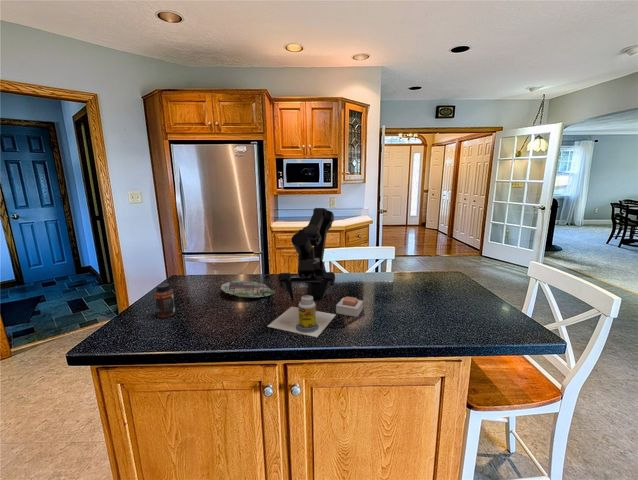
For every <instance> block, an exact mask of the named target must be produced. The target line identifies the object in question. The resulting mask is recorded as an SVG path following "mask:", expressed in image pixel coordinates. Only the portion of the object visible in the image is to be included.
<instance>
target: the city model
mask: <svg viewBox="0 0 638 480" xmlns="http://www.w3.org/2000/svg"><path fill="white" fill-rule="evenodd" d="M220 288H221V290H222V291H223V292H224V293H225V294H227V295H228V296H237V297H242V298H260V297H263V298H264V297H268V296H271V295H275V293H276V290H275V289H272V288H270V287H269V286H267V285H266V284H264V283H261V282H260V281H259V280H258V281H246V280H245V281H244V280H234V281H229V282H225V283H223V284H221V286H220Z"/></svg>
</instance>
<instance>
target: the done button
mask: <svg viewBox="0 0 638 480" xmlns="http://www.w3.org/2000/svg"><path fill="white" fill-rule="evenodd" d="M344 298H345V299H344V300H343V305H347V306H353V307H355V306H356V304H357V300H358V297H352V296H345V297H344Z"/></svg>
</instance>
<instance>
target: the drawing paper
mask: <svg viewBox="0 0 638 480" xmlns="http://www.w3.org/2000/svg"><path fill="white" fill-rule="evenodd" d="M336 316H337V313H330V312H324V311H319V310H316V325H315V327H314V328H313V329H310V330H304V329H301V328H300V327H299V307H298V306H297V307H296V306H290V307H289V308H288V309H287V310H285V311H284V312H283V313H282V314H281V315H279V316H278V317H276V318H275V319H274V320H272V322H270V323H269V324H268V325H267V328H271V329H272V328H273V329H277V330H280V331H281V330H282V331H285V332H290V333H295V334H298V335H304V336H309V337H312V338H318V337H319V336H320V335H321V333H322V332H324V330H325V329H326V328H327V326H328V325H329V324H330V323H331V321H333V319H334V318H335V317H336Z"/></svg>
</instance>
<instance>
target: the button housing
mask: <svg viewBox="0 0 638 480" xmlns="http://www.w3.org/2000/svg"><path fill="white" fill-rule="evenodd" d="M344 299H345V297H342V298H341V300H340V301H338V303H336V306H335V314H340V315H345V316H349V317H355V318H358V317H359V315H360V314H361V312H362V311H363V310H364V300H361V299H357V304H356V306H355V307H353V306H347V305H343V300H344Z"/></svg>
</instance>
